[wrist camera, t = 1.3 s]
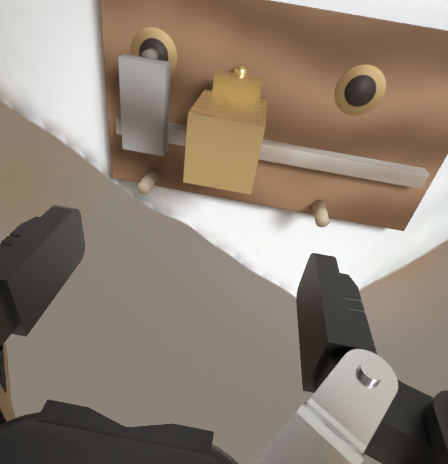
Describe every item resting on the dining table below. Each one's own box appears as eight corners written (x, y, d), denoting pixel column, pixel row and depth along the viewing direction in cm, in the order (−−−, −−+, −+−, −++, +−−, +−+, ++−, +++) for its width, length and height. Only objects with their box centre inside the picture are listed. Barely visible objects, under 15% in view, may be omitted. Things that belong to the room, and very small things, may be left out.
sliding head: (212, 58, 22) (190, 82, 16) (272, 69, 22) (271, 97, 16) (202, 151, 26) (181, 197, 20) (254, 160, 26) (247, 209, 20)
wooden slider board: (108, -28, 21) (78, -31, 18) (497, 39, 21) (537, 48, 18) (119, 170, 30) (100, 191, 27) (398, 221, 29) (413, 249, 26)
